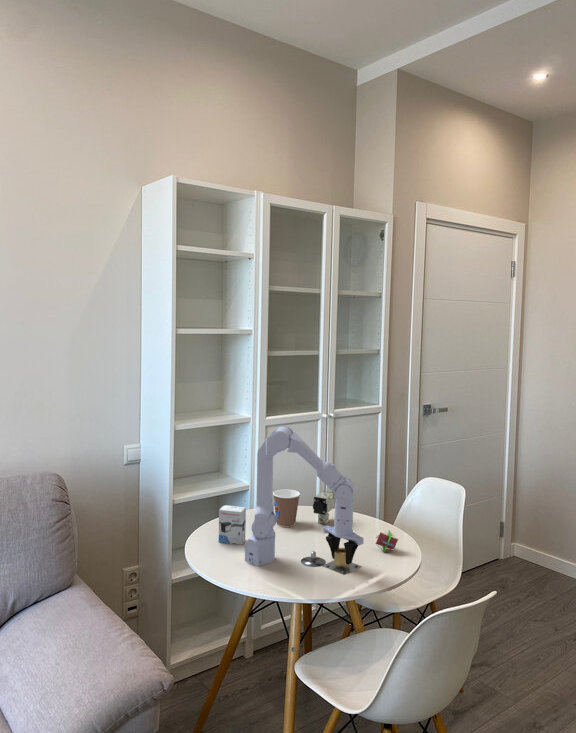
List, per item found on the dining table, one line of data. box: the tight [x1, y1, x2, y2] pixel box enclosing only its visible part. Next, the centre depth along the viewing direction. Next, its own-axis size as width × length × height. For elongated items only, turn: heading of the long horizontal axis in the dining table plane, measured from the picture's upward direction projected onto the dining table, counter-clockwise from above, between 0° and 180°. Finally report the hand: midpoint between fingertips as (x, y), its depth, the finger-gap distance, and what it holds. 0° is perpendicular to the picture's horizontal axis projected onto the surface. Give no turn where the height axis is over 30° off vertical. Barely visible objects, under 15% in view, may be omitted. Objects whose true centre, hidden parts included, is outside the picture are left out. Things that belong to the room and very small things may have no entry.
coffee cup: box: [272, 488, 301, 528], centre depth 228 cm, size 10×10×12 cm
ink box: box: [218, 505, 247, 545], centre depth 210 cm, size 8×5×12 cm, turn 76°
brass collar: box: [333, 547, 350, 567], centre depth 189 cm, size 5×5×4 cm
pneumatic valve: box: [312, 490, 336, 525], centre depth 230 cm, size 6×12×12 cm, turn 154°
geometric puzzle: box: [374, 530, 399, 553], centre depth 205 cm, size 7×7×8 cm
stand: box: [300, 551, 327, 568], centre depth 192 cm, size 8×8×4 cm
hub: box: [322, 560, 362, 576], centre depth 189 cm, size 9×9×4 cm
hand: (342, 560), depth 189 cm, fingers closed on brass collar, 5 cm apart
